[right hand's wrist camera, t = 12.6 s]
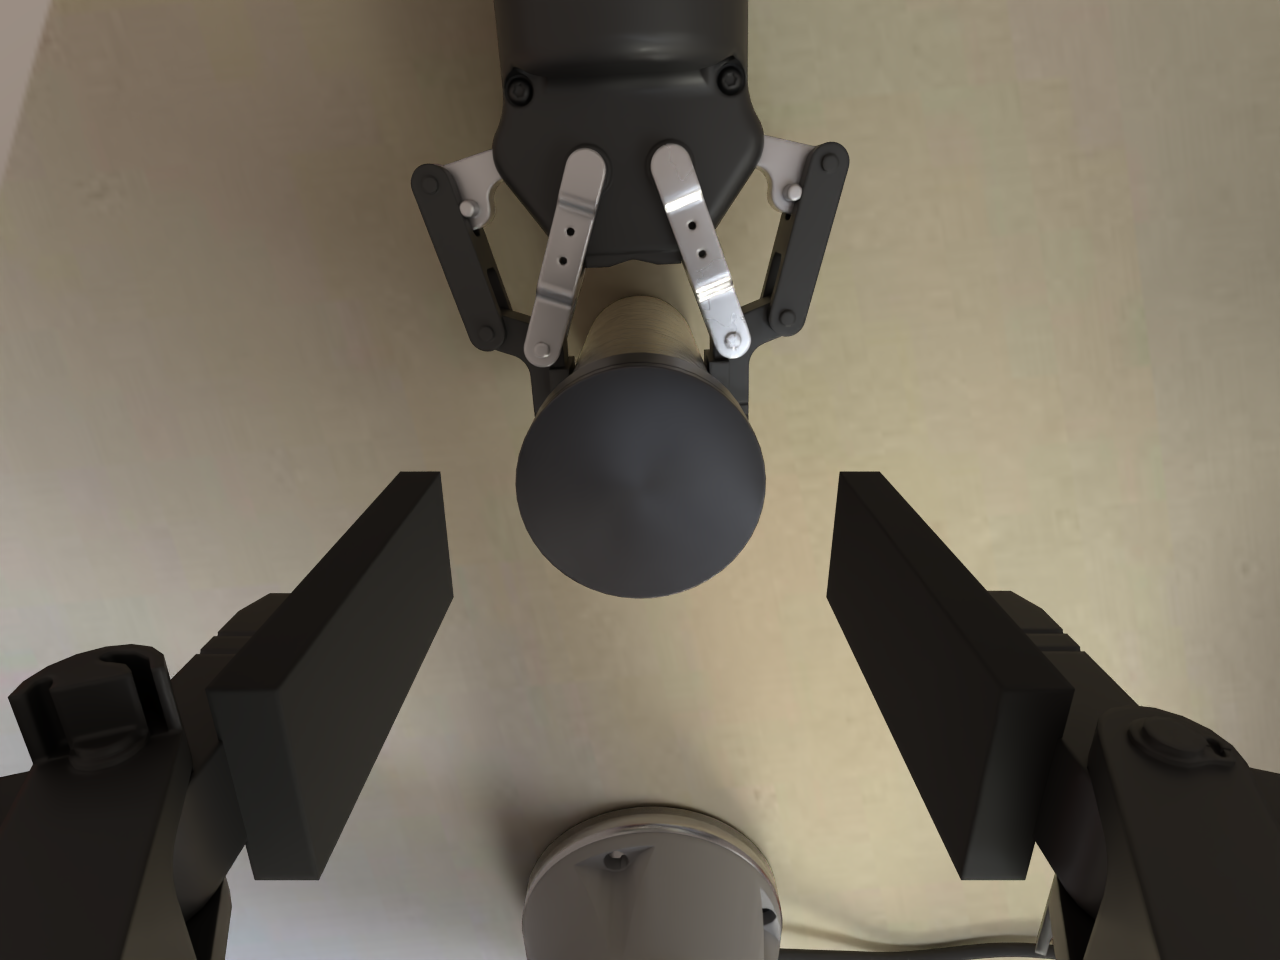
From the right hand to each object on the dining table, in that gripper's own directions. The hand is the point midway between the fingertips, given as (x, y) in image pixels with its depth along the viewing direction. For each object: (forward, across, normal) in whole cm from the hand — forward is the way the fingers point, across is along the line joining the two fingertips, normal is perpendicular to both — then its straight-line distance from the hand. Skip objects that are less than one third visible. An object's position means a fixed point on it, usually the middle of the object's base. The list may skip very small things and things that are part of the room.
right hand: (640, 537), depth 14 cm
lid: (+3, 0, 0) cm, 3 cm away
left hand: (+12, 0, -3) cm, 13 cm away
